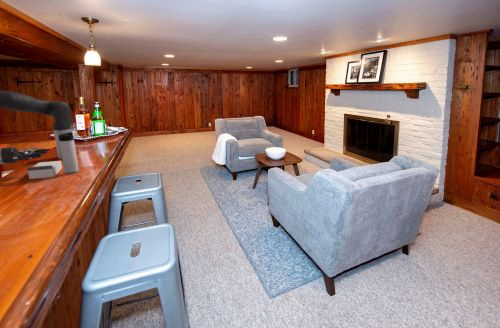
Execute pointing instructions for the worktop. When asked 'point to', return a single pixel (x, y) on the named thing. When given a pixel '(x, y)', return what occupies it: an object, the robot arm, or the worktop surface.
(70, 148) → the travel mug
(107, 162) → the worktop surface
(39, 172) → the dock
